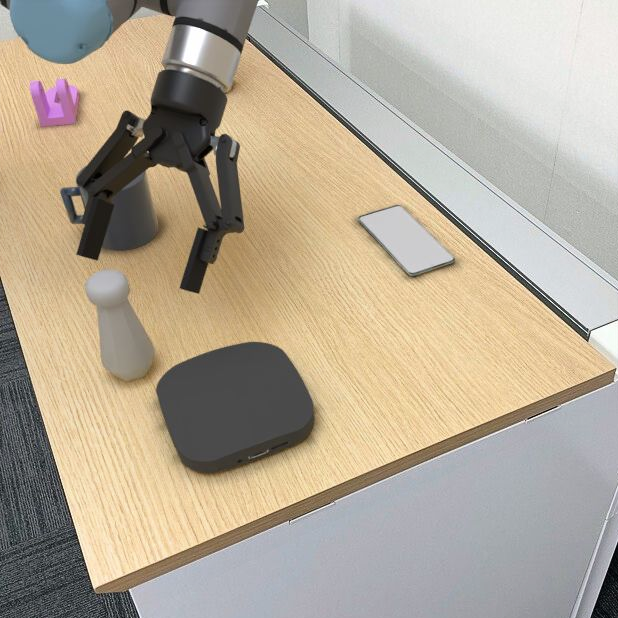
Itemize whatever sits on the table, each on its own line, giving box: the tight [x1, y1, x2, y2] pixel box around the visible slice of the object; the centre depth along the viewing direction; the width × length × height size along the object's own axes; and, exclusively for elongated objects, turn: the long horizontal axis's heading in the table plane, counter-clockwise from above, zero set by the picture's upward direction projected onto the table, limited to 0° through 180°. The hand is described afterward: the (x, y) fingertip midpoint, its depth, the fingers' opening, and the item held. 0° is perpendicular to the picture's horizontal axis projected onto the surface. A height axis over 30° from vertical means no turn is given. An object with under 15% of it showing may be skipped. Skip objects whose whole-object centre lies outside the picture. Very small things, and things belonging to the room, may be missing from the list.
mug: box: [59, 166, 160, 251], centre depth 100 cm, size 12×9×9 cm
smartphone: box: [358, 204, 456, 277], centre depth 100 cm, size 7×1×15 cm
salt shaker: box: [84, 268, 156, 382], centre depth 79 cm, size 6×6×13 cm
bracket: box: [29, 78, 81, 128], centre depth 128 cm, size 13×6×7 cm, turn 11°
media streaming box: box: [155, 341, 315, 474], centre depth 77 cm, size 15×15×3 cm
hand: (136, 274), depth 79 cm, fingers open, 13 cm apart
